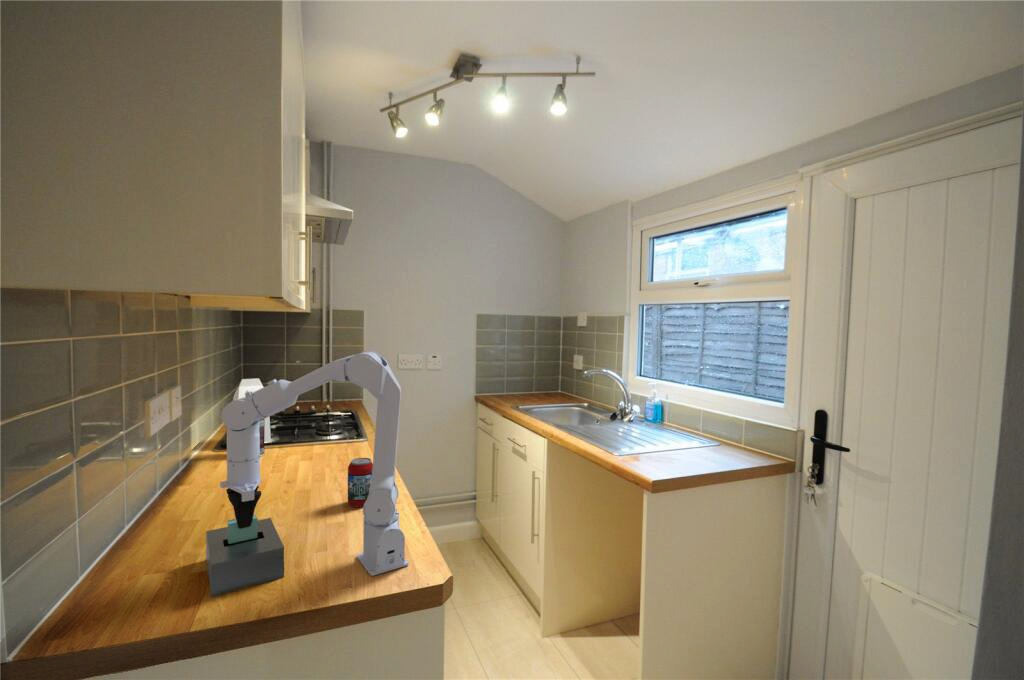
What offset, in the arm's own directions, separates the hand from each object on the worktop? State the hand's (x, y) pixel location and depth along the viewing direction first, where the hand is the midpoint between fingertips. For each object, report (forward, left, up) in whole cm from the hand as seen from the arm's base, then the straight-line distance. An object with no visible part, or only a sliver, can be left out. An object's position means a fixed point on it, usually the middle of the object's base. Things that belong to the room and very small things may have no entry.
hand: (243, 524), depth 94 cm
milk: (+102, -13, -9) cm, 103 cm away
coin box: (0, 0, -9) cm, 9 cm away
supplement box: (+85, -11, -9) cm, 86 cm away
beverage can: (+20, -30, -9) cm, 37 cm away
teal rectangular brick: (0, 0, -3) cm, 3 cm away
